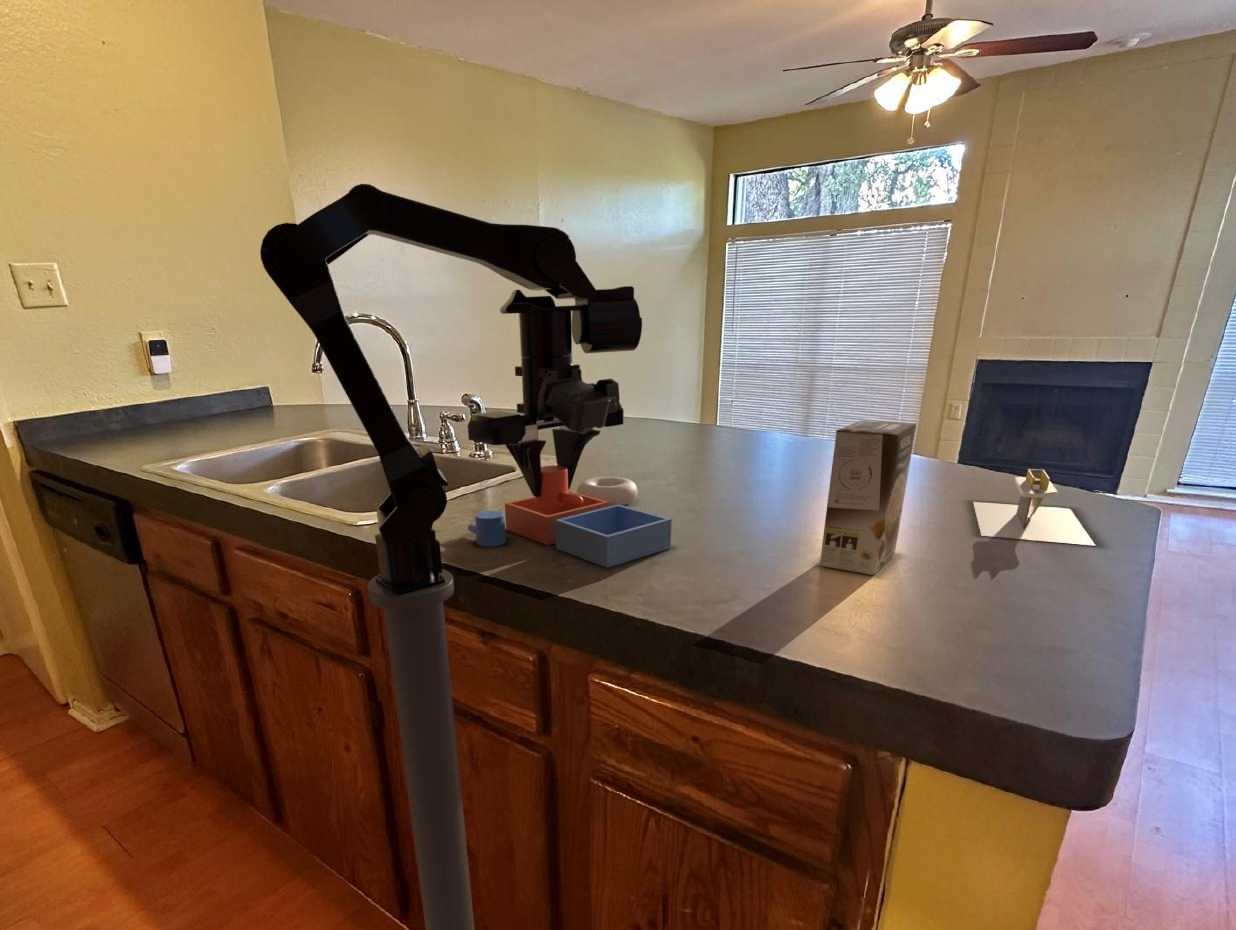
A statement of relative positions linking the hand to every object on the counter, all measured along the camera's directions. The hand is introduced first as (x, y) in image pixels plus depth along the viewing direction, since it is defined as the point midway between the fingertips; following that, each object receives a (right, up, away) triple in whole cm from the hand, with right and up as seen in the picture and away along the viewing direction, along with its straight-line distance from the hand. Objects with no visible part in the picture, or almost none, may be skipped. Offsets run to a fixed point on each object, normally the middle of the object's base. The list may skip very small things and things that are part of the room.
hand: (551, 493), depth 83 cm
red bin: (+1, -3, +18) cm, 18 cm away
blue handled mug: (-9, -4, +15) cm, 18 cm away
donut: (+10, +3, +31) cm, 33 cm away
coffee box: (+37, -8, +1) cm, 38 cm away
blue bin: (+9, -6, +9) cm, 14 cm away
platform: (+66, -2, +12) cm, 67 cm away
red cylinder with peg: (+1, -1, -1) cm, 2 cm away
